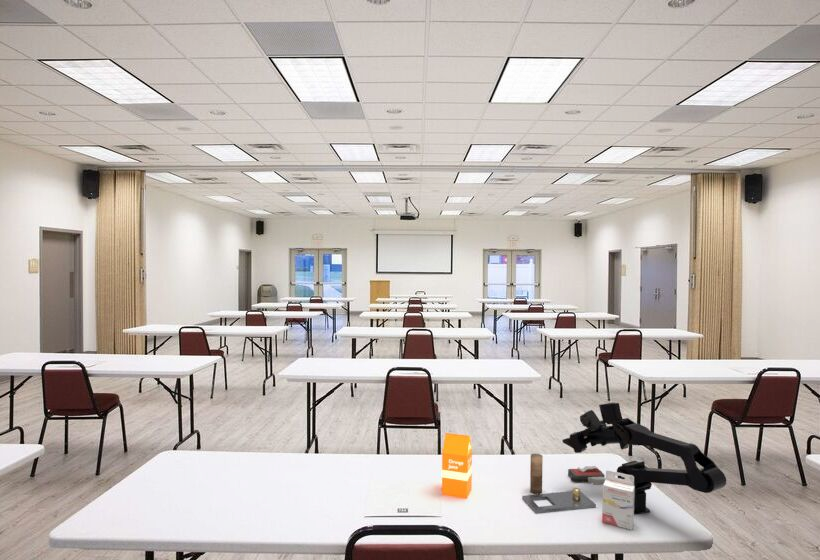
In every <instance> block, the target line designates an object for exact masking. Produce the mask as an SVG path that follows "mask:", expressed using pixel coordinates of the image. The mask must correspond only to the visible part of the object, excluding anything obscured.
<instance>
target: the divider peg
mask: <svg viewBox="0 0 820 560" xmlns="http://www.w3.org/2000/svg"><path fill="white" fill-rule="evenodd" d="M529 472H530V473H529V474H530V475H529V477H530V479H529V480H530V481H529V485H530V486H529V490H530V493H531V494H532V495H536V494H543V455H542V454H540V453H531V454H530V470H529Z"/></svg>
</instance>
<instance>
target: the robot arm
mask: <svg viewBox="0 0 820 560" xmlns="http://www.w3.org/2000/svg"><path fill="white" fill-rule="evenodd" d="M598 406H599V407H598V408H599V411H600V414H601V415H600V416H601V419H602V420H600V418H599V417H598V415H597V414H596V413H595V411H594V410H592V409H591V410H588V411H586V412H584V413H582V414H581V415H580V416H579V422H580V423H581V424H582V426H583V427H586V428H585V429H583V430H580V431H574V432H572V433H570V434H569V437H567V438H563V439H562V443H563V444H565V445H566V446H568V447H570V448H571V449H573V452H574V453H575V454H582V452H584V451H586V450H587V448H588V446H587V445H588V444H590V446H591V447H595V446H596V445H597V446H598V445H601V446H602V447H603V446H604V447H605V446H606V445H609V444H610V445H611V444H612V445H613V444H619V447H620V450H625V449H628V448H629V447H630V445H632V446H645V447H648V448H652V449H655V450H659V451H662V452H664V453H667V454H670V455H673V456H676V457H680V459H681V461H683V464H684V468H685V469H673V468H672V469H671V468H659V467H658V468H656V467H655V468H654V467H648V466H646V464H645V460H643V461H637V460H632V461H628V462H625V463H621V465H620V466H618V467H617V469H616V472H618V473H623V474H627V475H632V476H634V486H635V494H634V515H635V514H642V513H643V514H644V513H651V509H649V508H648V507H647V492H646V491H648V490H650V489H651V488H652V486H653V484H665V485H673V486H675V485H676V486H686V487H689V488H691V489H692V490H693V491H697V492H699V493H700V492H701V493H704V494H709V493H712V492H714V491H717V490H721V489H723V488H724V487H725V486H726V485H727V478H726V475H725V474H724V472H723V471H722V470H721V469H720V468H719V467H718V466H717V464H716V463H715V462H714V461H713V460H712V459H711V458H710V457H709V456H708V455H706V454H705V453H703V452H702V450H701V449H700V448H699V447H698V446H697V444H694V443H692V442H691V443H688V442H685V441H682V440H679V439H675V438H673V437H668V436H666V435H662V434H658V433H655V432H653V431H651V430H650V428H648V427H647V426H644V425H643V424H640V423H636V422H634V421H633V420H632V419H630V418H628V417H626V418H623V416H622V412H621V407H620V403H619V402H607V403H602V404H601V403H600V404H598ZM697 464H698V465H700V466H701V467H702V468H699V467H698V465H697ZM616 478H620V479H625V478H624V477H621V476H616ZM652 483H653V484H652Z"/></svg>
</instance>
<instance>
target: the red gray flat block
mask: <svg viewBox="0 0 820 560" xmlns="http://www.w3.org/2000/svg"><path fill="white" fill-rule="evenodd" d="M567 476H568V478H569V479H570V481H571V482H573V481H574V483H589V484H591V483H593V484H592V485H603V484H604V482H605V480H606V474H605V473H603V471H602V470H600V469H599V468H598V467H597V466H595V465H592V466H591V465H590V466H588V465H587V466H586V465H585V466H583V467H582V468H581V467H580V466H579V467H577V468H568V469H567Z"/></svg>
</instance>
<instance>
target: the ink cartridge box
mask: <svg viewBox="0 0 820 560" xmlns="http://www.w3.org/2000/svg"><path fill="white" fill-rule="evenodd" d="M617 476H621V477H624V478H625V479H620V478H618V477H617ZM605 478H606V480H605V482H604V484H602V485H603V486H602V507H601V508H602V510H601V511H602V514H601V519H602V520H601V522H602V523H605V524H608V525H611V526H615V527H618V526H619V528H622V527H623V529H626V528H627V529H626V530H629V529H630V531H632V530H633V527H634V523H635V514H634V494H635V486H634V476H632V475H627V474H623V473H618V472H617V471H613V470H609V469H608V470H606V472H605Z"/></svg>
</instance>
